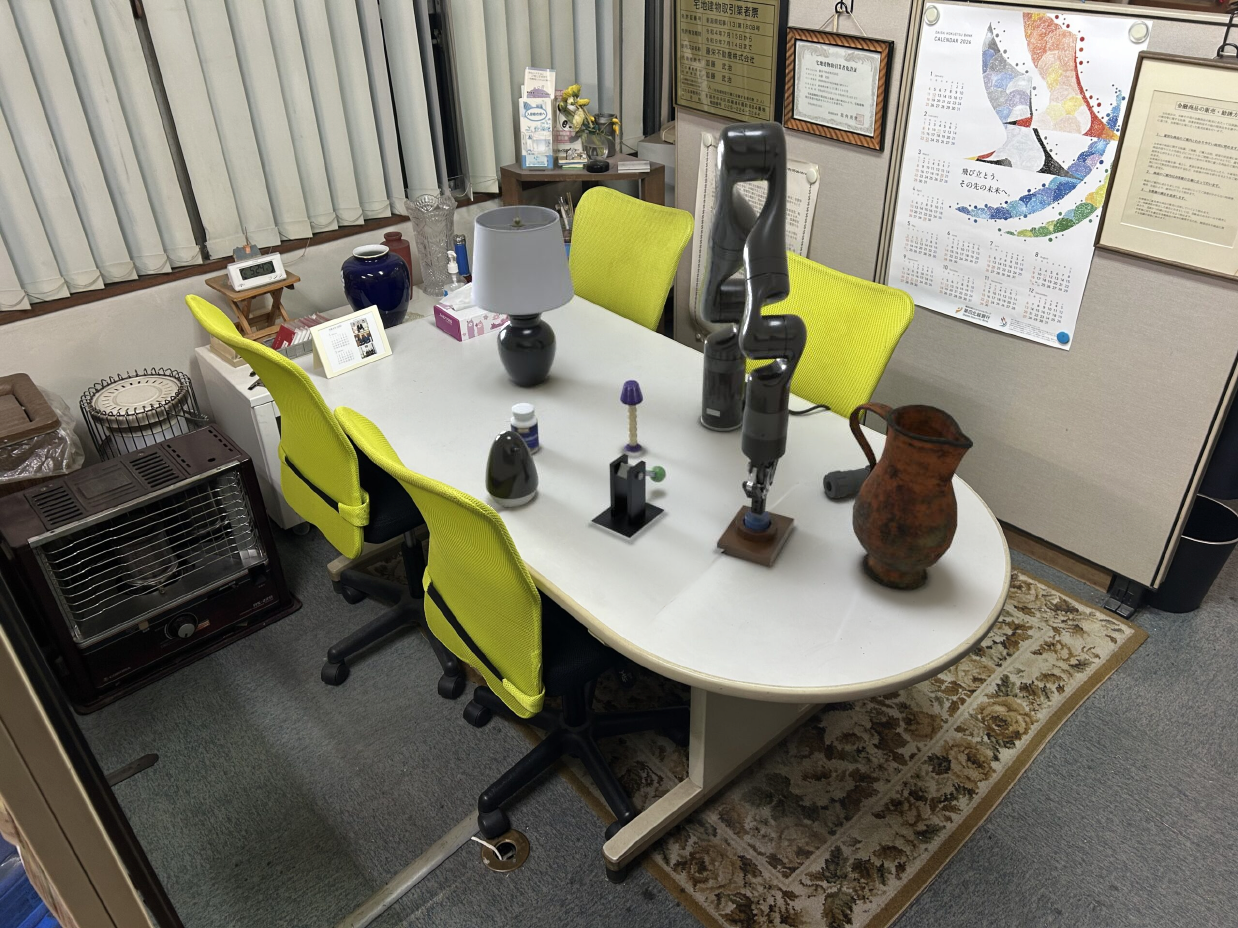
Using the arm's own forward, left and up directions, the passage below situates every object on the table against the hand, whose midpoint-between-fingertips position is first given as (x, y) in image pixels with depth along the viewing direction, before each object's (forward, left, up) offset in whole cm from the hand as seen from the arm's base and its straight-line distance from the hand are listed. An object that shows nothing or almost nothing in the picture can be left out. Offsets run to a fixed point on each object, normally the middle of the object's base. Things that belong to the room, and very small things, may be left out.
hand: (757, 511), depth 158 cm
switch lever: (+12, -19, 0) cm, 23 cm away
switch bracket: (+16, -18, -6) cm, 25 cm away
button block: (0, 0, -6) cm, 6 cm away
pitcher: (-14, +18, -7) cm, 24 cm away
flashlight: (-28, -1, -7) cm, 29 cm away
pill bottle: (+20, -52, -7) cm, 56 cm away
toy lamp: (+2, -38, -7) cm, 39 cm away
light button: (0, 0, -3) cm, 3 cm away
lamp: (+4, -81, -7) cm, 81 cm away
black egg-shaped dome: (+31, -36, -7) cm, 48 cm away
